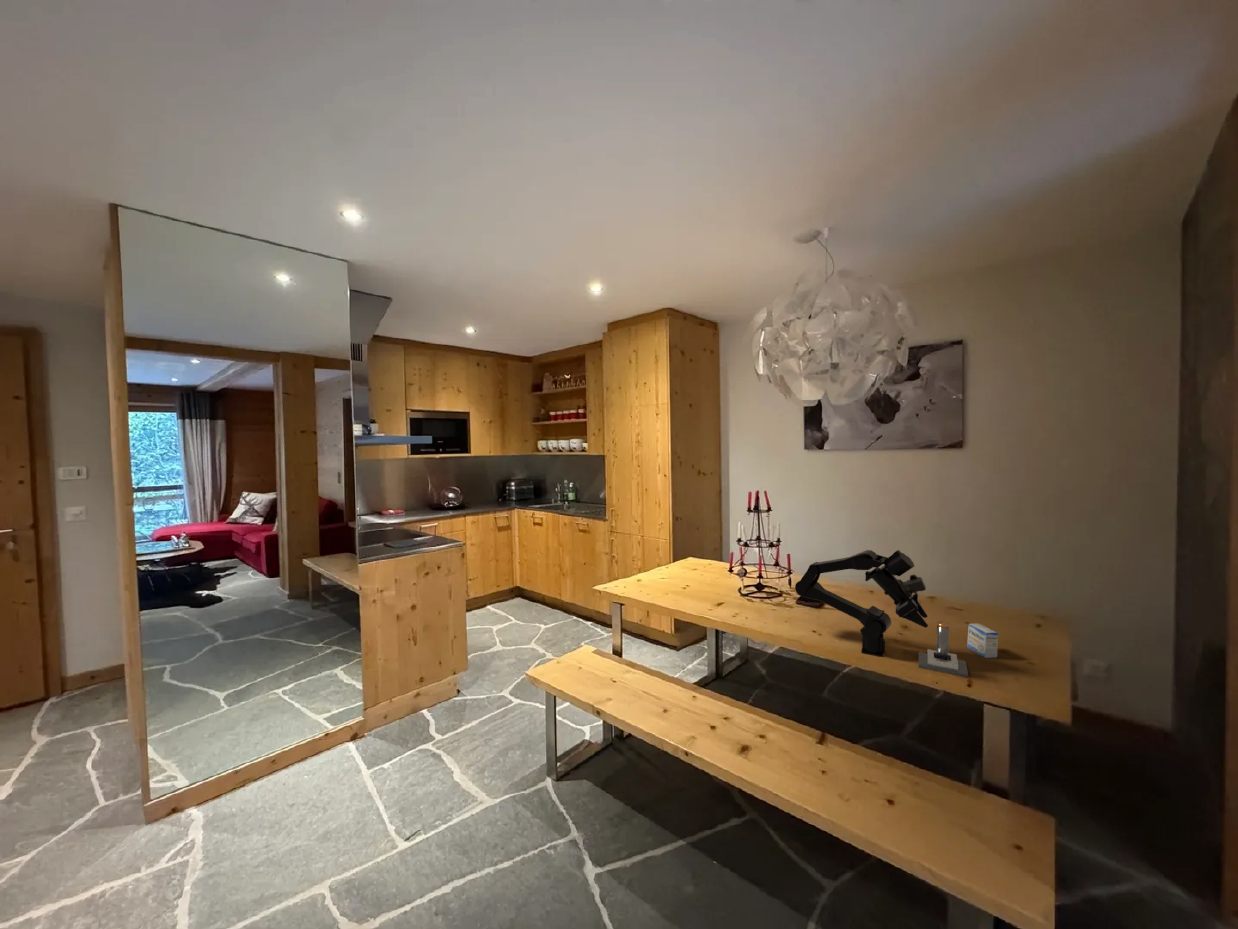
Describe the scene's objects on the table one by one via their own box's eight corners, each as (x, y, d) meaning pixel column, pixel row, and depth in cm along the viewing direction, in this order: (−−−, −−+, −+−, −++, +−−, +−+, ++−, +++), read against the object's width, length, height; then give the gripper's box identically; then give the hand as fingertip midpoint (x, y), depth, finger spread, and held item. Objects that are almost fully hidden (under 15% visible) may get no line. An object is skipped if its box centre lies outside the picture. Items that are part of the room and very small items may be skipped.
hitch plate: (918, 667, 159) (918, 658, 159) (918, 655, 167) (918, 646, 167) (968, 677, 152) (968, 668, 152) (965, 664, 161) (965, 655, 160)
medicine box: (966, 647, 172) (967, 623, 172) (978, 647, 173) (979, 623, 172) (984, 658, 164) (986, 633, 164) (997, 657, 165) (998, 632, 164)
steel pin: (936, 663, 159) (937, 624, 158) (935, 659, 162) (937, 620, 161) (948, 665, 157) (949, 626, 156) (947, 661, 160) (948, 622, 159)
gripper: (908, 576, 155) (950, 617, 150) (909, 562, 170) (946, 599, 166) (879, 597, 159) (918, 637, 154) (883, 581, 175) (918, 617, 170)
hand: (926, 621), depth 161 cm, fingers open, 9 cm apart
